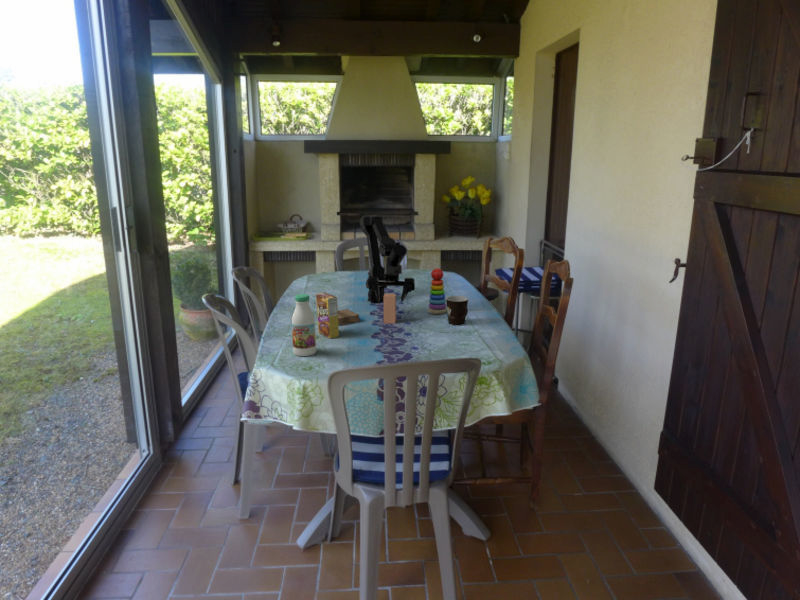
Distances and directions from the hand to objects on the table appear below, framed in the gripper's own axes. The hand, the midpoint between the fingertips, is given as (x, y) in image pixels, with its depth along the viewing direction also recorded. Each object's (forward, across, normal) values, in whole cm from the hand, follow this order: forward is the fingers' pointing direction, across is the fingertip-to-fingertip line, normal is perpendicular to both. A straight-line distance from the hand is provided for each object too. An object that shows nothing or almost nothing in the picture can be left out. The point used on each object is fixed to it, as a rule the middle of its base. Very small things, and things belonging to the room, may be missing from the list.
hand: (390, 301), depth 220 cm
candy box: (+19, -21, -7) cm, 30 cm away
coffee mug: (+7, +26, +5) cm, 28 cm away
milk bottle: (+33, -25, -21) cm, 46 cm away
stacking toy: (-5, +18, +16) cm, 25 cm away
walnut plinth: (+6, -19, +5) cm, 21 cm away
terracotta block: (+6, 0, +6) cm, 8 cm away
